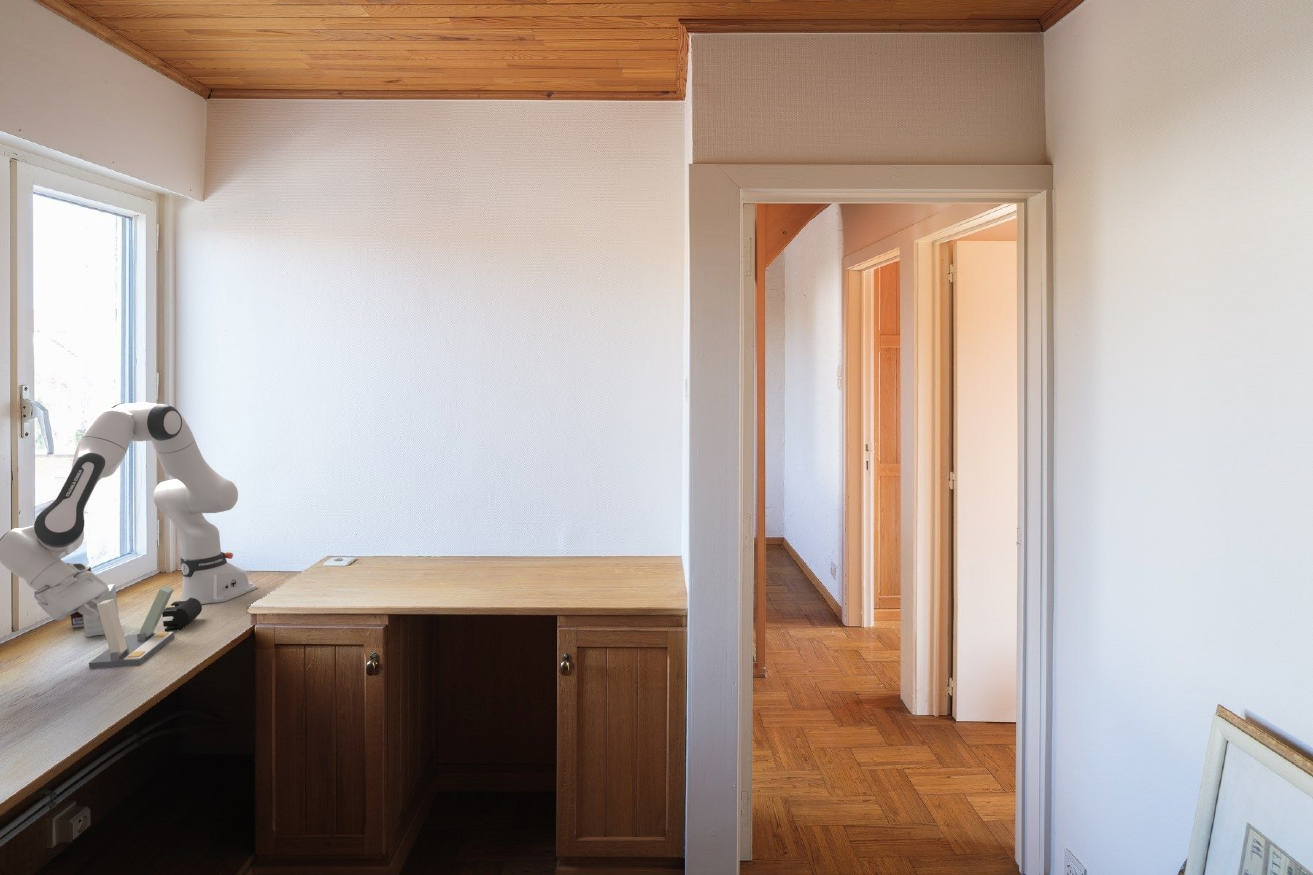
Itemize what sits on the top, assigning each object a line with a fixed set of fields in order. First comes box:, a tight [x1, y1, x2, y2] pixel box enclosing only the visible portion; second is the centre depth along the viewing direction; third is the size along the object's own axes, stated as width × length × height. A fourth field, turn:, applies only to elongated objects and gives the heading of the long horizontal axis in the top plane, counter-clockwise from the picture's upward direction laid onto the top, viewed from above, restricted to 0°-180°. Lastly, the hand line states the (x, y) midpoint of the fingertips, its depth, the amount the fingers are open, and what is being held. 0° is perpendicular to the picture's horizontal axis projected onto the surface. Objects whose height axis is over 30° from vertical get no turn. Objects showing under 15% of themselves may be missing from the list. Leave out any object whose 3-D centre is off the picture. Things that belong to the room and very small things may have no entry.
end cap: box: [161, 598, 203, 632], centre depth 238 cm, size 10×7×7 cm
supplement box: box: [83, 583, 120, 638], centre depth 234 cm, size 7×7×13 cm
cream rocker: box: [97, 599, 127, 656], centre depth 210 cm, size 2×4×15 cm, turn 7°
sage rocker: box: [138, 585, 175, 637], centre depth 224 cm, size 2×4×15 cm, turn 8°
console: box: [88, 631, 175, 670], centre depth 218 cm, size 12×20×4 cm, turn 8°
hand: (100, 616), depth 209 cm, fingers closed, pressing on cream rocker
